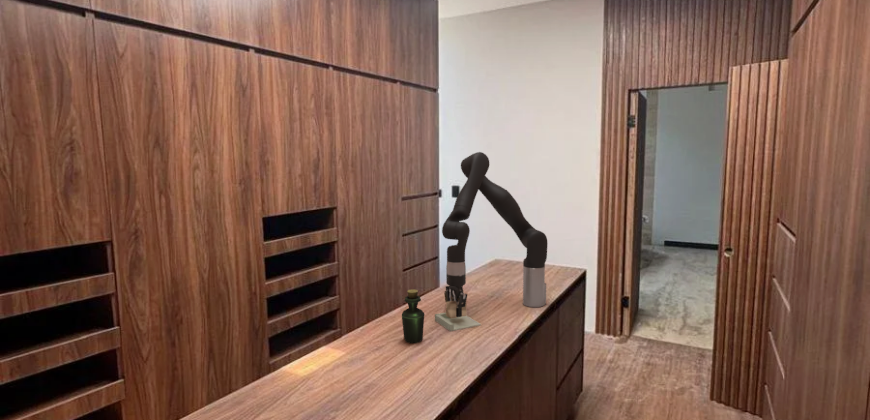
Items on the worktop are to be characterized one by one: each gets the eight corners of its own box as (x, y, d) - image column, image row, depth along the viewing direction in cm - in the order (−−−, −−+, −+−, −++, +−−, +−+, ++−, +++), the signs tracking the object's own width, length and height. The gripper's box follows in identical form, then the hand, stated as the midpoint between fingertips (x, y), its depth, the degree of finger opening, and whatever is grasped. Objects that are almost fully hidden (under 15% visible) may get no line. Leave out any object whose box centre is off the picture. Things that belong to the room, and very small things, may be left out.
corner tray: (464, 315, 189) (464, 309, 188) (481, 325, 177) (481, 319, 177) (434, 320, 183) (434, 314, 183) (450, 331, 171) (450, 324, 171)
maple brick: (445, 315, 180) (445, 301, 180) (461, 312, 183) (461, 299, 183) (450, 318, 177) (450, 304, 176) (466, 315, 180) (466, 302, 179)
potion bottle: (419, 345, 158) (418, 295, 156) (398, 342, 161) (397, 293, 159) (428, 337, 166) (427, 288, 164) (407, 334, 169) (406, 286, 167)
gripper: (439, 269, 183) (439, 311, 185) (456, 277, 170) (456, 322, 172) (455, 267, 186) (455, 308, 188) (473, 275, 173) (473, 319, 175)
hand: (456, 314), depth 180 cm, fingers closed on maple brick, 4 cm apart
